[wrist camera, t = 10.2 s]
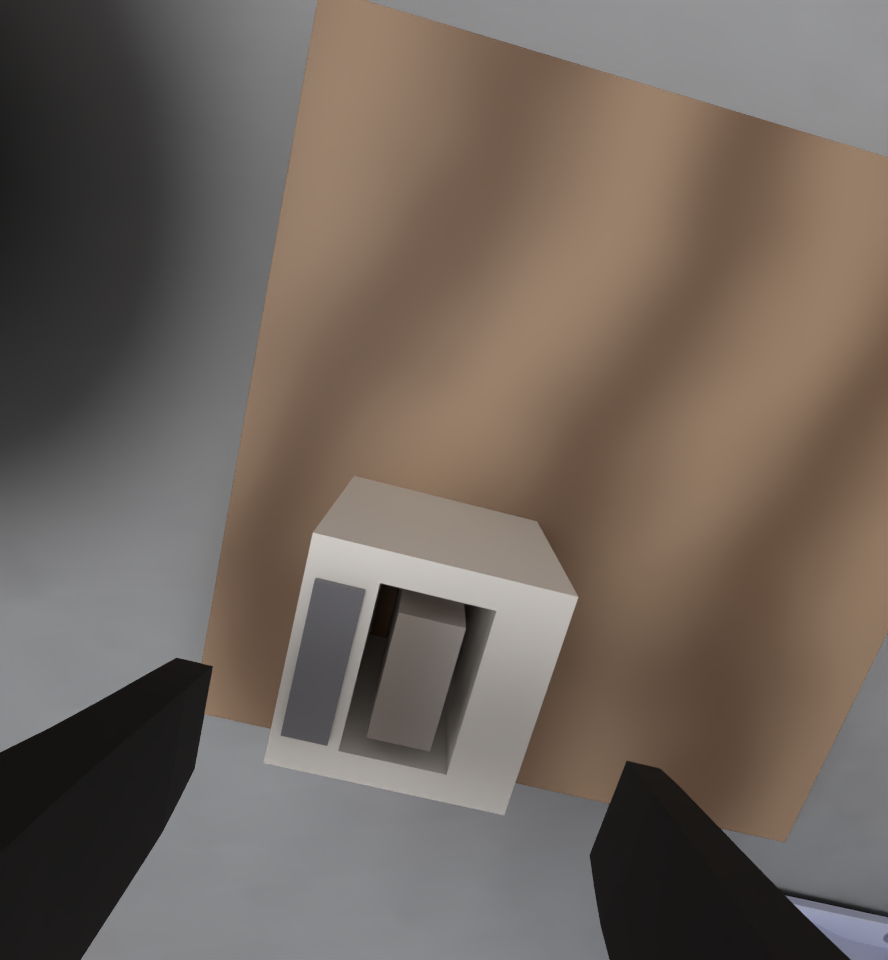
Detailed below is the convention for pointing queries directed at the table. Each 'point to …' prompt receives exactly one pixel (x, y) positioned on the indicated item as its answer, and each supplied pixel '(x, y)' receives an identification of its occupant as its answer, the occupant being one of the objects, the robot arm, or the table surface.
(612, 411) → the base
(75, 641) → the table surface
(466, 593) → the cube with recessed slot
